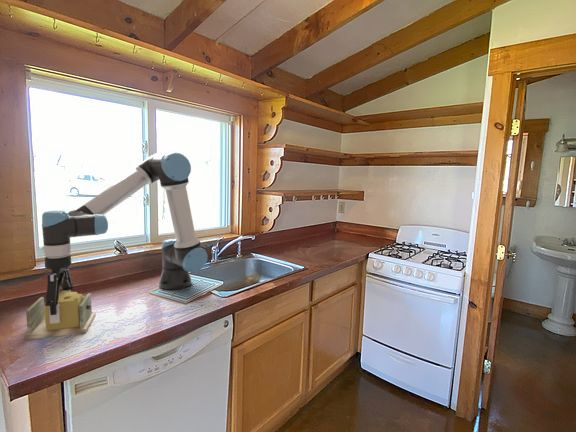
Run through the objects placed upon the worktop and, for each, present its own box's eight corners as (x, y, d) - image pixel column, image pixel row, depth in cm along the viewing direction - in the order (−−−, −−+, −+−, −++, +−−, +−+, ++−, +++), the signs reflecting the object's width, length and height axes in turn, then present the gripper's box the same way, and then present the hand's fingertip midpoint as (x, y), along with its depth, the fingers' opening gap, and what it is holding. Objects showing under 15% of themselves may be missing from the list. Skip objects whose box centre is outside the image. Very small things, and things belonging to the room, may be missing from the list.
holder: (95, 315, 126) (94, 292, 125) (86, 332, 113) (84, 306, 111) (40, 321, 120) (38, 296, 119) (23, 339, 107) (21, 312, 106)
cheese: (87, 315, 123) (86, 289, 122) (79, 328, 113) (78, 300, 112) (54, 318, 120) (53, 292, 118) (44, 332, 109) (42, 303, 108)
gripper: (57, 248, 123) (60, 302, 126) (29, 266, 100) (34, 332, 103) (80, 247, 126) (82, 300, 128) (58, 264, 103) (62, 329, 106)
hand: (61, 314), depth 116 cm, fingers open, 12 cm apart
